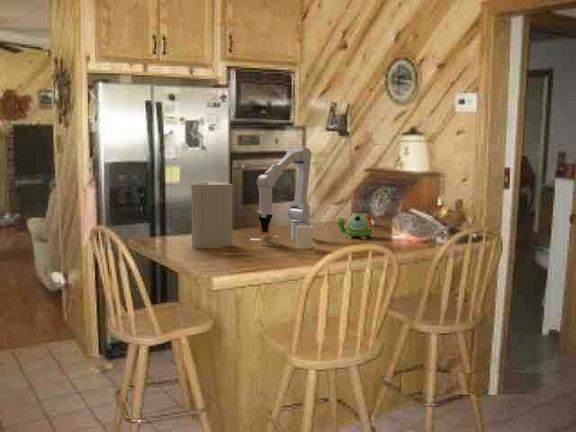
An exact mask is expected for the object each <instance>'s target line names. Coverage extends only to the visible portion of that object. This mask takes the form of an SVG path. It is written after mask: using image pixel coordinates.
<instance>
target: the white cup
mask: <svg viewBox="0 0 576 432" xmlns="http://www.w3.org/2000/svg"><path fill="white" fill-rule="evenodd" d="M314 229H315V228H314V225H310V226H309V225H299V226H296V240H295V241H296V248H298V249H301V250H304V249H305V250H309V249H313V243H314V232H315V231H314Z"/></svg>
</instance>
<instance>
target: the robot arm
mask: <svg viewBox="0 0 576 432" xmlns="http://www.w3.org/2000/svg"><path fill="white" fill-rule="evenodd" d="M311 162H312V152H311V150H310V149H309V148H308V147H295V146H294V147H292V146H291V147H289V149H287V151H286V154H285V155H284V156H283V157H282V159H281V160H280V161H279V162H278V163H277V164H276V163H275V164H272V165H270V166H271V167H270V168H269V169H268V170H266V171H265V173H264V174H260V175H259V176H258V177H257V180H256V185H257V186H258V187H257V188H258V192H259V201H258V203H259V204H258V205H259V206H258V207H259V209H258V210H256V213H258V214H259V216H258V220H259V224H260V223H261V228H262V232H267V231H268V225H269V223H270V224H271V220H272V218H273V187H275V185H276V181H277V180H278V179H279V178H280V177H281V176H282V175H283V174H284V170H285V169H286V168H287V167H288V166H289V165H290V164H291V163H293V164H294V165H296V167H297V178H296V185H295V191H294V192H295V194H294V200H293V201H292V202H291V203H290V204H289V207H288V208H289V209H288V211H287V217H288V219H289V221H290V222H291V224H290V233H291V234H290V237H291V238H290V239H292V240H295V241H296V226H299V225H309V226H311V221H309V220H310V217H311V211H310V208H311V206H310V204H308V202H307V196H308V195H307V193H308V187H309V179H310V169H311Z"/></svg>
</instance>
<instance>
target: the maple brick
mask: <svg viewBox="0 0 576 432" xmlns="http://www.w3.org/2000/svg"><path fill="white" fill-rule="evenodd" d="M259 239H260V243H259V246H266V245H275V246H274V247H279V246H280V235H260V238H259ZM278 245H279V246H278Z"/></svg>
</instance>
